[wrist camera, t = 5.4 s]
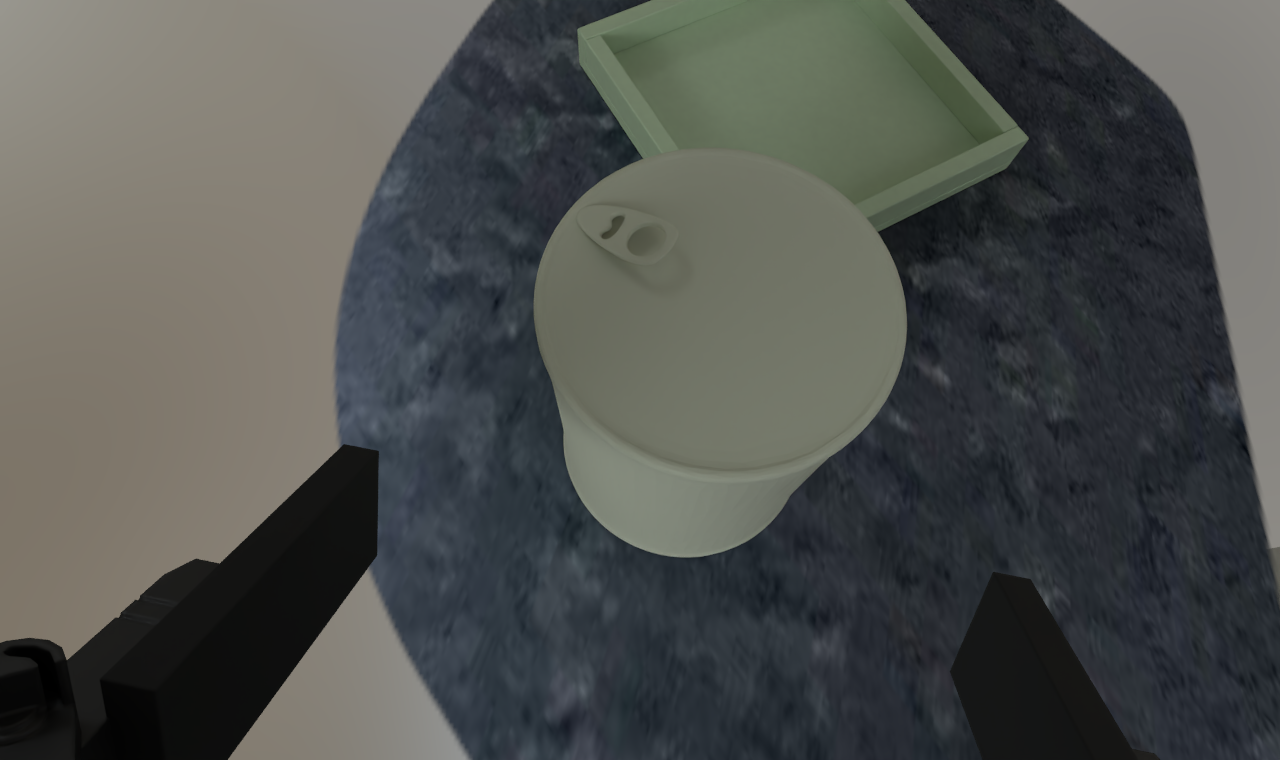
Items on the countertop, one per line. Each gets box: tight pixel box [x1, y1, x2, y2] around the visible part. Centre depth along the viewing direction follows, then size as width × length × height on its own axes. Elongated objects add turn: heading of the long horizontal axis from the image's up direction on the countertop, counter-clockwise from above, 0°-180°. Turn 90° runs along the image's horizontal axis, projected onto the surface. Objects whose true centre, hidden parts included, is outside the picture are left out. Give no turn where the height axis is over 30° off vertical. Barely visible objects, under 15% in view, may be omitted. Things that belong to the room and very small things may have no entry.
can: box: [534, 147, 907, 557], centre depth 23 cm, size 9×9×12 cm
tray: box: [578, 0, 1029, 232], centre depth 33 cm, size 15×15×2 cm
